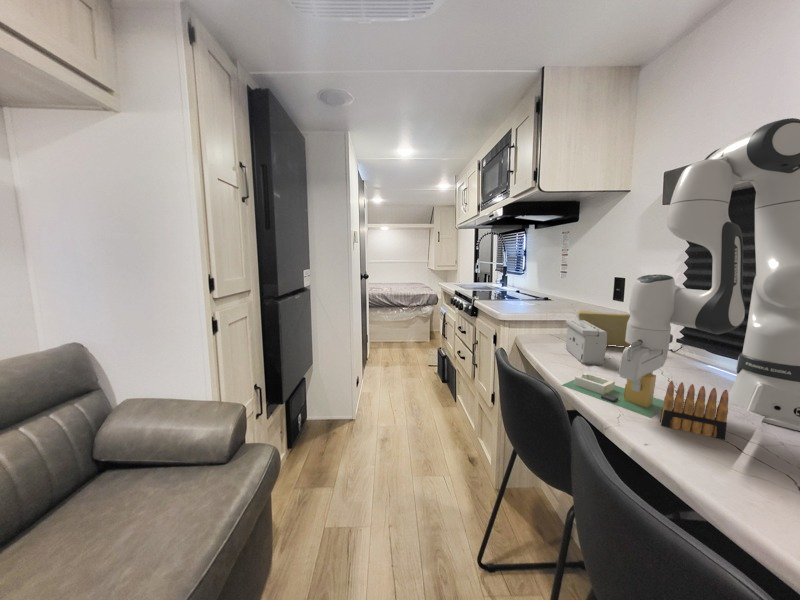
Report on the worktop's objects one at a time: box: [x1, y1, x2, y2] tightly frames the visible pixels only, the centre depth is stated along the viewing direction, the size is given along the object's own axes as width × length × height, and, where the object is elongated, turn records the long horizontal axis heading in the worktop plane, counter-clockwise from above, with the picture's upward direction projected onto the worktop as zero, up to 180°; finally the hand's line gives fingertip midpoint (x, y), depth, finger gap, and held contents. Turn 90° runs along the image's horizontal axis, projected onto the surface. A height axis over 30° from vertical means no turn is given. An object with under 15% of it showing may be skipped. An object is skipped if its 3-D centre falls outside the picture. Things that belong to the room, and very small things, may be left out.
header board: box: [561, 372, 664, 419], centre depth 87 cm, size 22×14×4 cm, turn 33°
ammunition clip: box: [659, 380, 729, 441], centre depth 68 cm, size 11×2×12 cm, turn 59°
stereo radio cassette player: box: [565, 303, 607, 366], centre depth 121 cm, size 21×8×20 cm, turn 168°
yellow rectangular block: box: [624, 373, 657, 408], centre depth 81 cm, size 6×4×8 cm, turn 34°
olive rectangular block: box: [577, 309, 630, 347], centre depth 138 cm, size 22×10×15 cm, turn 60°
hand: (640, 388), depth 81 cm, fingers closed on yellow rectangular block, 3 cm apart
